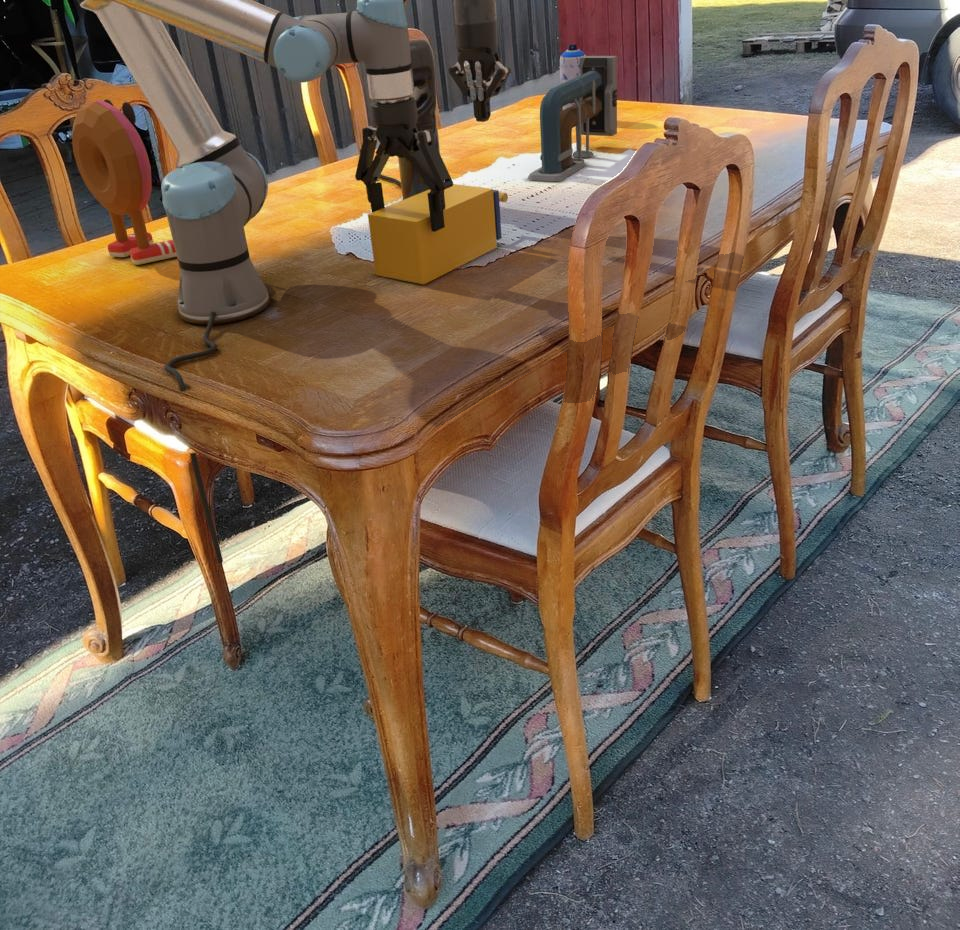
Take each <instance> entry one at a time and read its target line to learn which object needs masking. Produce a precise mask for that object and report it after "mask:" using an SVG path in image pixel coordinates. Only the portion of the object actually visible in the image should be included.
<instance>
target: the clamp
mask: <svg viewBox="0 0 960 930" xmlns="http://www.w3.org/2000/svg"><path fill="white" fill-rule="evenodd" d="M569 103H575V105H573V106H571V107H569V108H567V109H565V110H563V106H565V105H567V104H569ZM539 127H540V128H539V130H540V153H541V154H540V157H539V159H540V161H541V167H539V168H537V169H535V170H533V171H532V172H530V173H529V174H528V177H527V180H530V181H543V182H544V181H545V182H561V181H563V180H564V179H566V178H567V177H569V176H571V175H573V174H574V173H576V172H578V171H579V170H581V169H582V168H583V167H585V166H586V165H587V164H586V162H585V159H584V158H588V159H589V158H591V157H593V156H594V152H593V151H591V150H590V136H599V137H614V136H616V135H617V134H618V57H617V55H586V56H583V57H581V58H580V76H578V77H576V78H574V79H572V80H569V81H567V82H565V83H563V84H561V85H560V84H558V85H557V86H554V87H552V88H550V89H549V90H548V92H547V93H545V95H544V96H543V97H542V99H541V101H540V106H539ZM573 128H575V145H576V146H575V148H576V150H575V151H574V150H573V140H572V139H573V137H572V133H573V132H572V131H573ZM582 136H585V150H583V149H582Z"/></svg>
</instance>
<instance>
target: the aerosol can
mask: <svg viewBox="0 0 960 930" xmlns="http://www.w3.org/2000/svg"><path fill="white" fill-rule="evenodd" d="M583 56H587V55H586V54H585V52H584V51H583V50H581V49H579V48H578V44H577V43H574V44H568V48H567V49H566V50H565V51H563V52H562V53H561V55H560V56H559V79H560V81H559V83H560V84H559V85H561V84H563V83H565V82H567V81H569V80H572V79H574V78H576V77H578V76H580V58H581V57H583ZM573 105H575V103H569V104H567V105H565V106H563V110H565V109H567V108H569V107H571V106H573Z"/></svg>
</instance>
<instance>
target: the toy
mask: <svg viewBox="0 0 960 930" xmlns="http://www.w3.org/2000/svg"><path fill="white" fill-rule="evenodd" d="M121 109H122V111H121V110H120V109H118V108H117V107H115V106H114V104H113V103H112V101H111V100H110V99H108V98H106V99H104V100H100V99H97V100H95V101H93V102H91V103H88V104H86V105H85V106H83V107H81V108H80V109H78V110H77V111H76V114H75V116H74V117H75V118H74V120H73V124H72V130H71V140H72V142H71V143H72V152H73V156H74V160H75V163H76V167H77V170H78V172H79V174H80V176H81V178H82V181H83V182H84V184H85V186H86V188H87V189H88V191H89V192H90V193H91V195H92V196H93V197H94V198H95V199H96V201H97V202H99V203H100V205H101V206H102V207H103V208H105V209H107V211H108V214H109V217H110V221H111V225H112V228H113V233H114V236H115V239H116V240H114V241H112V242H110V243H108V245H107V251H108V255H109V256H110V257H113V258H127V257H129V256H130V260H131V262H132V263H133V264H135V266H137V265H144V264H150V263H154V262H159V261H162V260H163V261H164V260H167V259H172V258H177V255H176V251H175V247H174V243H173V239H170V240H165V241H160V242H156V243H154V237H153V235H152V233H151V232H148V231H147V226H146V225H147V224H146V222H145V218H144V214H143V212H142V211H143V210H144V209H145V208H146V206H147V205H148V203H149V201H150V198H151V194H152V189H153V188H152V168H151V163H150V159H149V155H148V152H147V150H146V146H145V144H144V142H143V140H142V137H141V136H140V134H139V132H138V131H137V129H136V127H135V126H134V125H135V124H136V120H137V119H136V113H135V110H134V108H133V106H132V104H131V103H130V102H128V101H125V102H123V103H122V107H121ZM127 215H128V216H129V218H130V221H131V226H132V230H133V232H132V233H130V234H128V232H127V227H126V223H125V218H124V216H127Z"/></svg>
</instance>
